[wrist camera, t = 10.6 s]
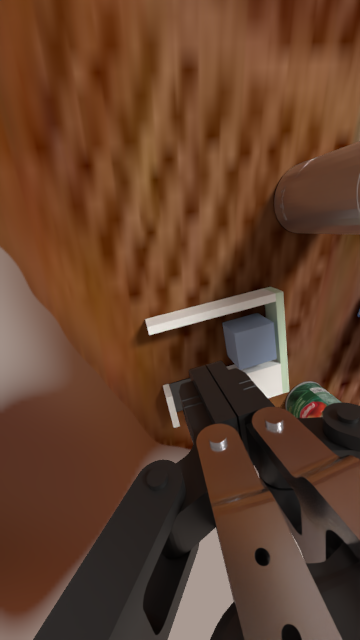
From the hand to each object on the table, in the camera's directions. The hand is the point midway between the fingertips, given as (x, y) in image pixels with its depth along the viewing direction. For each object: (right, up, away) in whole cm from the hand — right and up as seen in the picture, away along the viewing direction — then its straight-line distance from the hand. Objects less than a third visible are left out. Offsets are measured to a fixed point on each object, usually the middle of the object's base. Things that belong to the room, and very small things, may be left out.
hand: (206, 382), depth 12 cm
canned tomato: (+22, -12, +38) cm, 46 cm away
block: (+9, 0, +31) cm, 32 cm away
